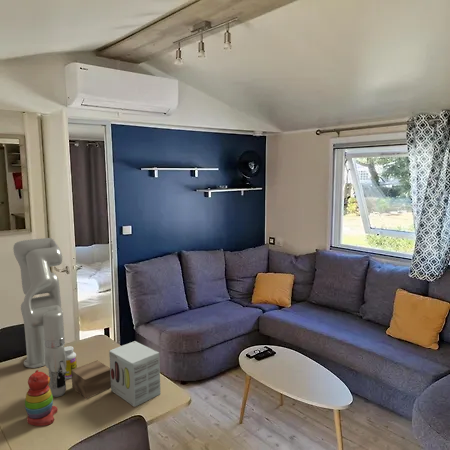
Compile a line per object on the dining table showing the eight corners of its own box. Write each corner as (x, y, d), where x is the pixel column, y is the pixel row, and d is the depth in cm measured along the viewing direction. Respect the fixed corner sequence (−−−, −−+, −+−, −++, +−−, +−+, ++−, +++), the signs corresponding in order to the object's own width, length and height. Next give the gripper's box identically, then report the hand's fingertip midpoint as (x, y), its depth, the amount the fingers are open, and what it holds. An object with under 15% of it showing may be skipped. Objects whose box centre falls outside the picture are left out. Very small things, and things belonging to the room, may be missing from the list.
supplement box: (110, 391, 169) (107, 350, 167) (136, 379, 179) (135, 340, 176) (134, 407, 158) (132, 363, 155) (161, 393, 167) (160, 351, 165)
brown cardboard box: (72, 387, 173) (71, 370, 171) (98, 377, 181) (97, 360, 180) (86, 398, 164) (85, 379, 163) (112, 387, 173) (111, 369, 172)
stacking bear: (53, 424, 148) (49, 378, 145) (22, 428, 145) (18, 381, 143) (58, 408, 158) (55, 364, 156) (30, 411, 156) (26, 367, 154)
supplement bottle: (71, 380, 179) (70, 352, 177) (58, 378, 180) (56, 351, 179) (80, 372, 186) (78, 345, 184) (67, 371, 187) (65, 344, 185)
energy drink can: (66, 388, 172) (63, 354, 170) (66, 395, 167) (63, 360, 165) (50, 391, 170) (48, 357, 168) (50, 398, 164) (47, 363, 162)
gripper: (36, 338, 169) (39, 379, 171) (54, 350, 157) (57, 394, 159) (54, 333, 174) (57, 373, 176) (73, 344, 162) (76, 387, 164)
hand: (57, 383), depth 168 cm, fingers closed on energy drink can, 6 cm apart
